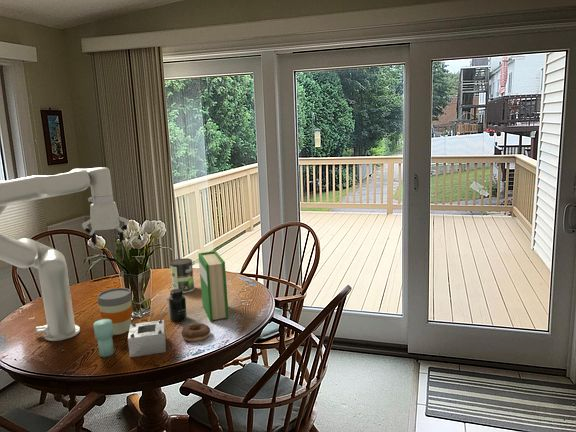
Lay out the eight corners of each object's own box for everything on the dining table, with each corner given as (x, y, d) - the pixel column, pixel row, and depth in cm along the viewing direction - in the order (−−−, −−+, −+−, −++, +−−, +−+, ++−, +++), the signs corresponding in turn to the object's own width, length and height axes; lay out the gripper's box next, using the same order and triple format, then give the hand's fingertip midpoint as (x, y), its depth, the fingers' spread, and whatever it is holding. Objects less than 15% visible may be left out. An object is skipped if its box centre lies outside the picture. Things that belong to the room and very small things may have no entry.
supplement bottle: (183, 322, 191) (180, 294, 189) (167, 321, 193) (164, 293, 190) (189, 315, 198) (187, 288, 196) (174, 314, 199) (171, 287, 197)
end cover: (96, 359, 165) (92, 327, 162) (98, 351, 170) (94, 320, 168) (115, 356, 166) (111, 324, 164) (116, 348, 172) (112, 317, 170)
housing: (129, 357, 165) (127, 336, 163) (132, 342, 176) (130, 322, 175) (165, 352, 168) (163, 331, 166) (165, 337, 179) (163, 318, 178)
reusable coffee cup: (132, 320, 196) (128, 285, 193) (138, 331, 185) (133, 295, 182) (99, 327, 190) (95, 291, 187) (103, 339, 179) (98, 302, 176)
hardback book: (228, 319, 193) (224, 262, 188) (210, 322, 190) (206, 264, 186) (219, 303, 209) (215, 250, 204) (202, 306, 207) (198, 253, 202)
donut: (177, 336, 180) (176, 326, 179) (202, 328, 186) (202, 318, 185) (188, 346, 172) (188, 336, 171) (215, 337, 177) (214, 327, 177)
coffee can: (198, 286, 232) (195, 258, 229) (188, 294, 222) (185, 265, 219) (179, 285, 235) (176, 257, 232) (168, 292, 225) (165, 264, 222)
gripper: (76, 203, 179) (83, 247, 182) (125, 199, 182) (130, 243, 186) (80, 200, 186) (86, 242, 189) (127, 196, 189) (132, 238, 193)
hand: (108, 242), depth 188 cm, fingers open, 9 cm apart
